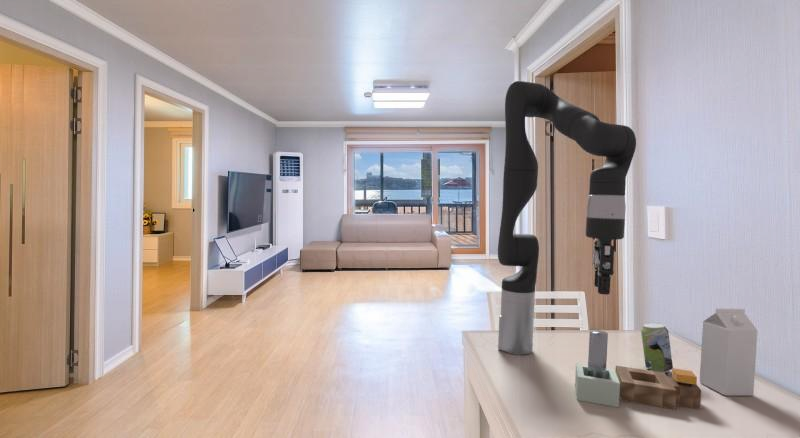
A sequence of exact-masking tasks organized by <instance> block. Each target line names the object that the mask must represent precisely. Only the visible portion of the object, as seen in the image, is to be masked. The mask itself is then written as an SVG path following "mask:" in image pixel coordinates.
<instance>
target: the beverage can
mask: <svg viewBox="0 0 800 438" xmlns="http://www.w3.org/2000/svg"><path fill="white" fill-rule="evenodd" d="M640 332H641V340H642V349H643V357H644V363H645V364H644V365H645V367H646V368H647V370H649V371H656V372H662V373H665V374H666V373H668V372H670V371H672V368H674V366H673V358H672V350H671V341H670V340H671V339H670V333H669V330H668V329H667V327H666V325H665V324H664V323H660V322H659V323H658V322H646V323H644V324H642V327H641V330H640Z"/></svg>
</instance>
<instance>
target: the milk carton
mask: <svg viewBox="0 0 800 438" xmlns="http://www.w3.org/2000/svg"><path fill="white" fill-rule="evenodd" d="M745 313H746V309H745V308H722V307H721V308H720V307H719V308H715V313H713V314H712V315H710V316H709V317H707V318H706V319H704V320H703V321H702V333H701V334H702V335H701V348H700V349H701V352H700V366H699V367H700V368H699V383H700V384H702V385H704V386H706V387H708V388H710V389H712V390H714V391H715V392H716V393H717V392H718V393H719V394H721V395H723V396H730V397H731V396H754V391H755V390H754V389H755V379H756V378H755V373H756V362H757V361H756V360H757V344H758V329H757V327H756V326H755V325H754V324H753V323H752V320H750V318H749V317H748V316H747V315H746V314H745Z"/></svg>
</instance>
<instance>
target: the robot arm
mask: <svg viewBox="0 0 800 438" xmlns="http://www.w3.org/2000/svg"><path fill="white" fill-rule="evenodd" d="M504 100H505V101H504V121H505V151H504V152H505V153H504V165H503V181H502V182H503V183H502V207H501V209H502V211H501V218H500V228H499V234H498V236H499V237H498V242H497V243H498V244H497V258H498V261H499V264H500V265H502V266H507V267H521V269H520V270H519V271H518V272H516V273H514V274H513V275H509V276H506V277H504V278H503V279H502V281H501V293H500V294H501V297H500V315H499V319H498V338H497V339H498V340H497V350H499V351H503V352H506V353H509V354H513V355H528V354H531V353H532V352H533V346H534V343H533V342H534V341H533V340H534V320H535V300H536V299H535V298H536V286H537V285H536V283H537V277H538V266H539V256H540V255H539V253H540V243H539V240H538V238H537V236H536V235H535V234H529V233H527V234H526V233H514V230H515V226H516V222H517V220H518V218H519V216H520V214H521V212H522V211H523V210H524V208H525V207H526V205H527V204H528V203H529V201H530V200H531V198H533V196H534V194H535V193H536V191H537V188H538V175H539V162H538V159H537V157H536V154H535V152H534V150H533V147H532V145H531V143H530V141H529V139H528V136H527V132H526V118H540V119H544V120H547V121H550V122H551V123H552V125H553V126H554V128H555V130H556V131H558V132H559V133H560V134H562V135H564V136H566V137H567V138H569V139H571V140H572V141H574V142H576V144H577V145H579V147H580V148H581V149H582V150H583V151H585V152H586V153H588V154H590V155H593V156H597V157H605V160H604V163H603V165H602V167H598V168H595V169H593V170H591V172H590V176H589V186H588V187H589V189H588V200H587V206H586V218H585V219H586V223H585V236H586V237H587V238H590V239H596V240H594V245H593V246H592V254H593V255H592V256H593V257H592V262H593V263H592V264H593V269H594V279H593V281H594V282H593V286H594V287H596V288H597V293H598V294H599V295H606V296H607V295H610V292H611V277H612V276H613V275H614V273H615V271H614V265H615V254H616V248H615V245H612V244H613V243H612V241H613V240H617V241H618V240H624V238H625V223H626V222H625V221H626V206H627V205H626V187H627V186H626V183H627V182H626V181H627V180H626V179H627V175H628V173H629V169H630V168H631V165H632V161H633V158H634V154H635V151H636V148H637V139H636V134H635V131H634V130H633V129H632V128H631V127H630V126H627V125H624V124H616V123H610V122H609V123H608V122H604V121H601V120H600V119H599V117H598V116H597V115H596V114H594V113H592V112H590V111H588V110H585V109H584V108H581V107H578V106H577V105H574V104H572V103H570V102H567V101H566V100H564V99H562V98H561V97H560V96H558V95H557V94H556V93H554V91H552V89H549V88H548V86H545V85H544V84H542V83H538V82H530V81H523V80H515V81H512V83H510V85H509V86H508V88H507V90H506V94H505V99H504Z"/></svg>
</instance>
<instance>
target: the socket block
mask: <svg viewBox="0 0 800 438" xmlns="http://www.w3.org/2000/svg"><path fill="white" fill-rule="evenodd" d="M614 370H615V372H616V375H617V377H618V380H619V382H620V391H619V399H620V400H621V401H625V402H630V403H635V404H643V405H647V406H653V407H659V408H665V409H669V410H670V409H671V410H676V406H679V407H686V408H691V409H696V410H697V409H698V410H701V401H702V390H701V388H700V387H699V386H698V384H696V385H695V384H689V386H685V385H679V384H678V382H676V380H675V379H674V377H672V376H671V377H669V376H668V375H666V372H665V373H662V372H656V371H651V370H649V369H641V368H635V367H627V366H621V365H615V369H614Z"/></svg>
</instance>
